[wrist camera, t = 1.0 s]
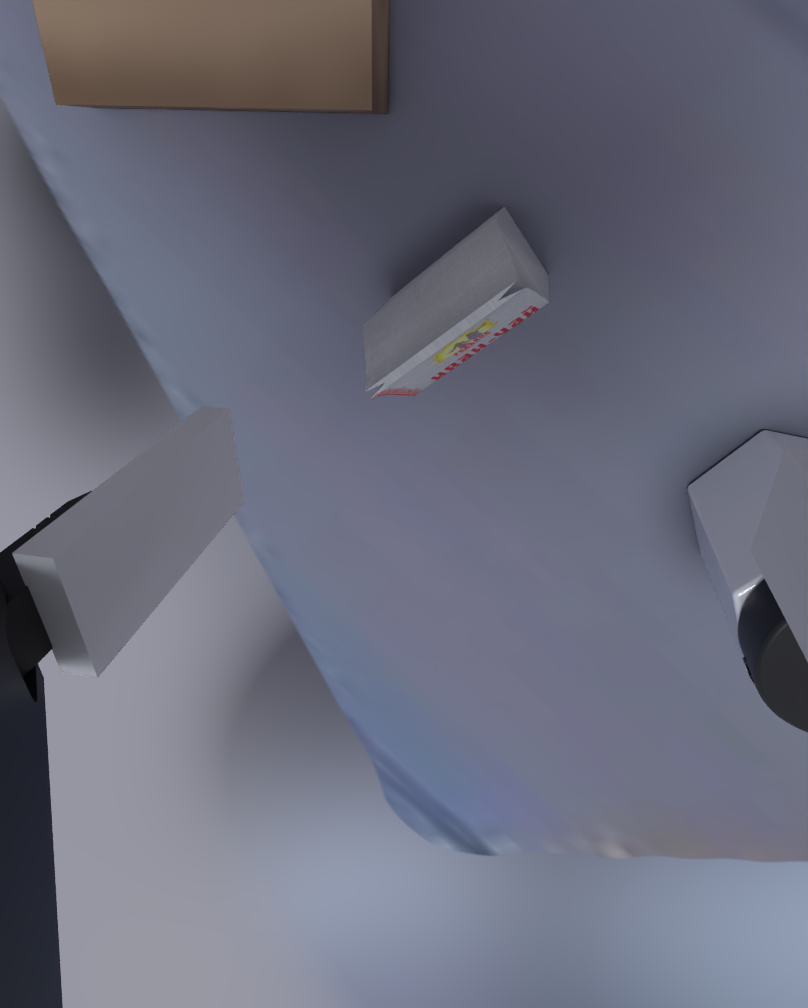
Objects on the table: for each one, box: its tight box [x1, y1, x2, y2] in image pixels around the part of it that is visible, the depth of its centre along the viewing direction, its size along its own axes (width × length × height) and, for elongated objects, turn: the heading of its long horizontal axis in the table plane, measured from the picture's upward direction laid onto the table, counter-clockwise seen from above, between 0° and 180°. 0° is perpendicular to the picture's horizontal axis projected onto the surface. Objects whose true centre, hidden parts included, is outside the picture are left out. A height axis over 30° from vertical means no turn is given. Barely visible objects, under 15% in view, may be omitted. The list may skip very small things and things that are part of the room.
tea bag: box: [362, 206, 550, 399], centre depth 25 cm, size 4×7×10 cm, turn 128°
